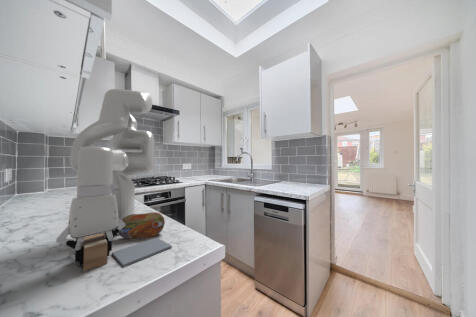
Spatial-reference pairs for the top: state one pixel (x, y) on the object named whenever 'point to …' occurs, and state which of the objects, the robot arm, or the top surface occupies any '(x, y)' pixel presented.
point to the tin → (142, 225)
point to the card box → (94, 251)
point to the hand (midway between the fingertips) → (94, 258)
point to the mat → (140, 251)
